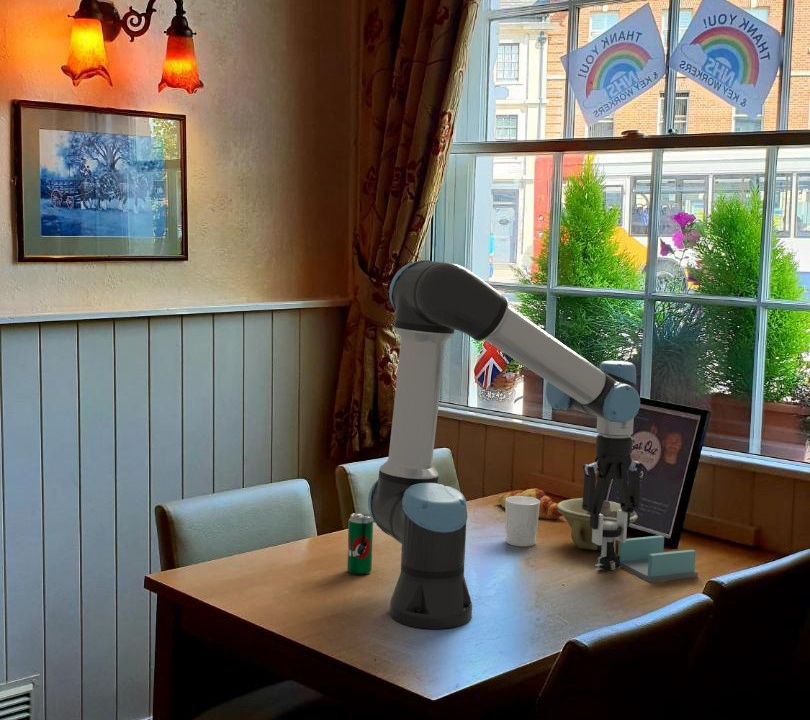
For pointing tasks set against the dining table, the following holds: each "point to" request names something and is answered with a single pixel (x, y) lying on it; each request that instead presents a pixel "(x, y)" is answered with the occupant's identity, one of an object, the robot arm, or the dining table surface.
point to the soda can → (360, 544)
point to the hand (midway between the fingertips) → (608, 542)
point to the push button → (609, 546)
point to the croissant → (546, 504)
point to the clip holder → (656, 560)
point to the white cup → (521, 520)
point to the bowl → (587, 520)
